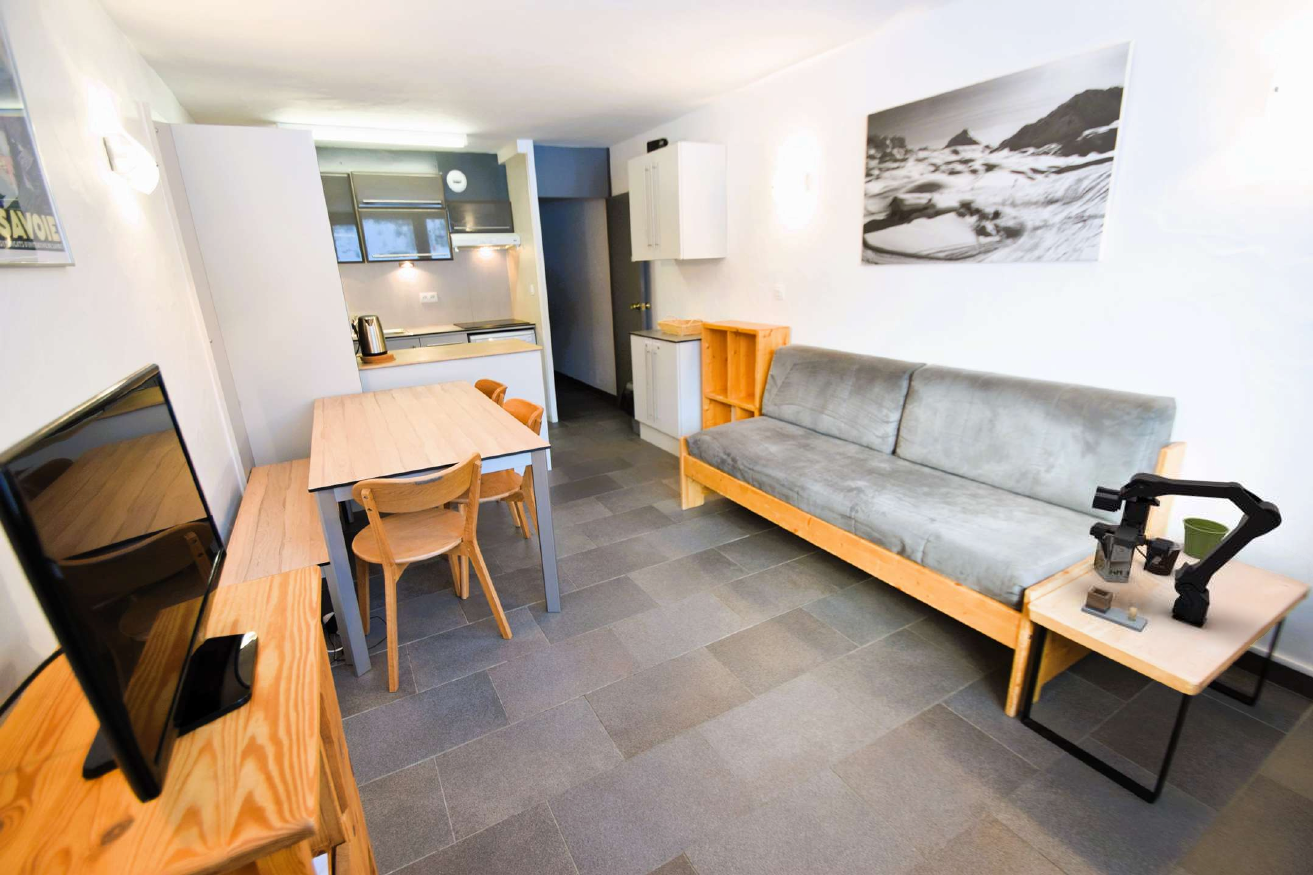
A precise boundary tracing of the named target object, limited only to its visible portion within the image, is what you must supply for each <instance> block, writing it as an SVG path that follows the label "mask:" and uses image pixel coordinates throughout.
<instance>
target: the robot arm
mask: <svg viewBox="0 0 1313 875" xmlns="http://www.w3.org/2000/svg"><path fill="white" fill-rule="evenodd" d="M1164 496H1180V497H1181V496H1184V497H1185V496H1186V497H1197V498H1212V499H1225V500H1228V501H1230V502H1232V504H1234V505H1235V506H1236V507H1237V508H1238V509H1239V510H1240V511H1242V513H1243V515H1242V516H1241V518H1240V520H1239V522H1238V523H1237V526H1236V527H1234V528H1233V529H1232V530H1230V531H1229V532H1228V533H1227V534H1226V535H1225V537H1224V538H1223V539H1222V540H1221V541H1220V542H1219V543H1218V544H1217V545H1216V546H1215V547H1214V548H1213V549H1212V550H1211V551H1209V552H1208V553H1207V554H1206V555H1205V556H1204V557H1203V558H1202V559H1200V560H1198V561H1197V562H1196V563H1191V564H1190V563H1188V562H1186V561H1184V563H1183V564H1182V566H1181V567H1180V568H1178V569H1175V572H1174V582H1173V583H1174V586H1173V587H1174V590H1175V591H1176V593H1177V594H1178V597H1176V599H1175V600H1174V602H1173V605H1172V610H1171V613H1172V616H1171V618H1172V619H1174V620H1177V621H1181V622H1183V623H1186V624H1189V625H1192V626H1196V627H1198V628H1203V627H1204V625H1205V623H1206V622H1207V621H1208V617H1207V616H1208V612H1209V608H1210V604H1211V600H1210V599H1211V598H1210V590H1209V588H1208V587H1207V586H1208V585H1209V582H1210V581H1211V579H1212V577H1213V576H1214V574H1215V573H1217V572H1218V571H1219V570H1220V569H1221V568H1223V567H1224V566H1225V565H1226V564H1227V563H1228V562H1230V561H1231V559H1233V558H1234V557H1235V556H1236V555H1237V554H1238V553H1240V551H1242V550H1243V549H1244V548H1245V547H1246V546H1247V545H1249V543H1251V542H1252V541H1253V540H1254V539H1256V538H1259V537H1262V536H1265V535H1266V534H1269V533H1271V532H1272V531H1273V530H1275V529H1277V528H1278V527H1279V526H1281V524H1282V523H1283V519H1282V515H1281V512H1280V509H1279V507H1278V506H1277V505H1276V504H1275V503H1273V502H1270V501H1267V500H1266V501H1265V500H1263V499H1262V498H1261V497H1259V496H1258V495H1257V494H1255V493H1253V492H1252V491H1250V490H1249V489H1247V488H1245V487H1244V486H1243V485H1242V484H1241V483H1239V482H1236V481H1211V480H1210V481H1209V480H1196V479H1195V480H1194V479H1177V478H1169V477H1165V476H1162V475H1159V474H1154V473H1147V472H1138V473H1137V472H1136V473H1135V474H1133V475H1132V476H1131V477H1130V479H1129V481H1128V482H1127V483H1126V484H1124V485H1123V486H1121V487H1120V489H1119V490H1118V489H1115V488H1114V489H1113V488H1108V487H1104V486H1100V485H1098V486H1096V491H1095V494H1094V496H1093V500H1092V505H1091V508H1092V509H1094V510H1100V511H1104V512H1105V511H1106V512H1110V513H1116V512H1118V511H1121V509H1122V504H1123V501H1124V507H1123V510H1122V516H1121V519H1120V520H1121V521H1120V523H1119V524H1118V525H1119V526H1118V528H1117V530H1112V526H1111V525H1112V524H1108V523H1103V522H1100V521H1097V522H1095V523H1094V524H1093V525H1091V526H1090V529H1089V533H1088V534H1089V535H1090V536H1092V537H1093V538H1094V539H1096V540H1097V541H1098V540H1099V541H1100V543H1101V545H1102V549H1103V553H1104V557H1105V559H1107V558H1108V555H1109V550H1110V543H1111V536H1113V537H1114V540H1113V543H1114V544H1115V545H1117V546H1123V547H1126V548H1128V549H1133V548H1134V547H1135V546H1137V547H1144V546H1146V547H1147V546H1150V547H1151V550H1150V552H1149V553H1148V557H1147V559H1145V562H1144V565H1143V569H1142V570H1143V571H1147V570H1146V568H1147V567H1148V566H1149V564H1150V563H1151V562H1152V560H1153V559H1154V558H1155V557H1157V556H1159V557H1162V556H1163V555H1164V556H1169V554H1170V553H1171V552H1172V551H1173V548H1174V543H1173V542H1172V541H1173V540H1172V541H1169V540H1170V539H1168V540H1166V539H1167V538H1164V539H1162V537H1158V536H1157V537H1155V538H1156V539H1155V540H1150V539H1148V538H1147V535H1146V534H1145V533H1146V530H1147V525H1148V521H1149V520H1148V519H1149V515H1150V512H1151V508H1152V507H1151V506H1153V507H1157V508H1158V507H1160V506H1161V501H1160V500H1159V499H1158V497H1164Z"/></svg>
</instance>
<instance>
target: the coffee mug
mask: <svg viewBox="0 0 1313 875" xmlns="http://www.w3.org/2000/svg"><path fill="white" fill-rule="evenodd" d="M1156 538H1157V537H1148V538H1147V539H1150V540H1155V539H1156ZM1161 538H1162V537H1161ZM1162 539H1166V540H1169V541H1172V542H1173V543H1174V548H1173V551H1172V552H1171V553H1170V554H1169V556H1164V555H1163V556H1162V557H1159V556H1157V557H1155V558H1154V559H1153V560H1152V562H1151V563H1150V564H1149V566H1148V567H1147V568H1146V570H1145V571H1147V572H1148V573H1150V574H1153V575H1155V576H1161V577H1169V576H1171V574H1172V572H1173V570H1174V567H1175V564H1176V562H1177V560H1178V558H1179V555H1180V552H1181V550H1182V548H1183V546H1182V545H1181V544H1180V543H1179V542H1177V541H1174V540H1170V539H1169V538H1168V539H1167V538H1162ZM1135 550H1137V552H1138V553H1139V554H1140V555H1141V556H1142V557H1143V558H1144V559H1145V560H1146V559H1147V557H1148V553H1149V552H1150V550H1151V547H1150V546H1146V549H1145V551H1146V552H1145V553H1146V554H1144V552H1143V551H1142V550H1140V548H1139V546H1136V547H1135Z"/></svg>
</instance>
